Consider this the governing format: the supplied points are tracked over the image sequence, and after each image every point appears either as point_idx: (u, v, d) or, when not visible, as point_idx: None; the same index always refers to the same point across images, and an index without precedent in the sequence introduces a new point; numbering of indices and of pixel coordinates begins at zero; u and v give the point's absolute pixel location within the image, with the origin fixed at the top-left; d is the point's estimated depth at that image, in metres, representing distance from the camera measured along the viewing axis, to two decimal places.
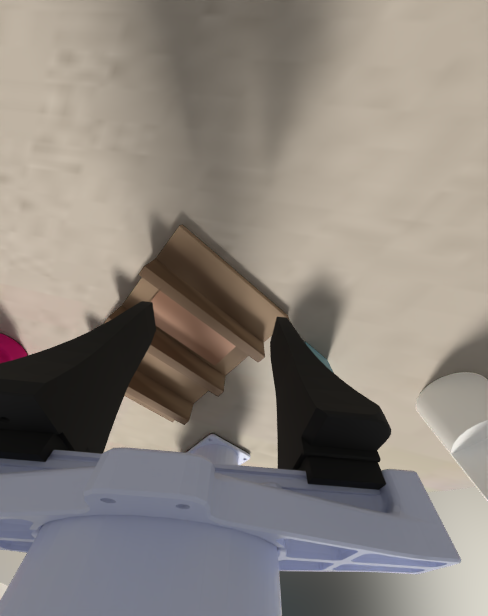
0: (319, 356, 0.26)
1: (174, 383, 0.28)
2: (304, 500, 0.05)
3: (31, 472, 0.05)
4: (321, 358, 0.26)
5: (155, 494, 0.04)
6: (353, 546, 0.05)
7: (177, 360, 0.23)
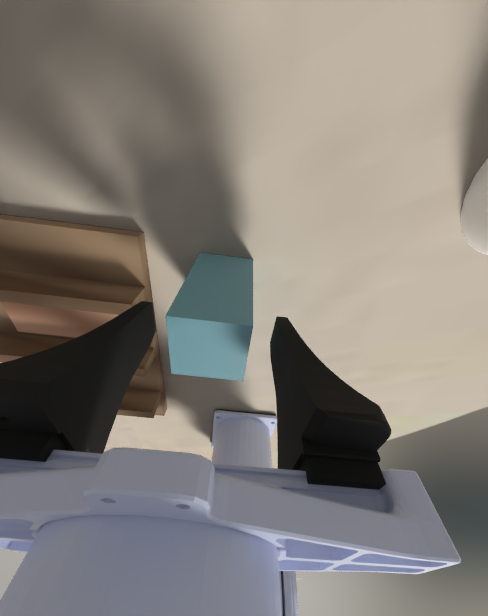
0: (227, 260, 0.16)
1: None
2: (304, 500, 0.05)
3: (31, 472, 0.05)
4: (231, 261, 0.16)
5: (155, 494, 0.04)
6: (353, 546, 0.05)
7: None
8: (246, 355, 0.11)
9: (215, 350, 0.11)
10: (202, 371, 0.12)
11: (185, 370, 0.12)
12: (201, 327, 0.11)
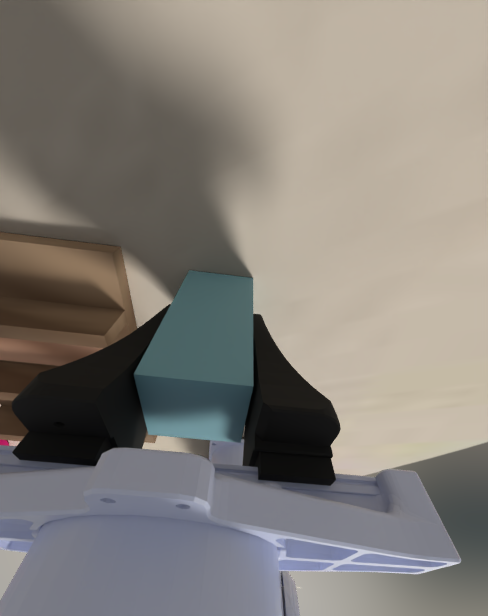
0: (221, 281, 0.13)
1: None
2: (304, 500, 0.05)
3: (31, 472, 0.05)
4: (226, 282, 0.13)
5: (155, 494, 0.04)
6: (353, 546, 0.05)
7: None
8: (244, 417, 0.09)
9: (203, 411, 0.09)
10: (188, 432, 0.10)
11: (166, 431, 0.10)
12: (183, 386, 0.08)
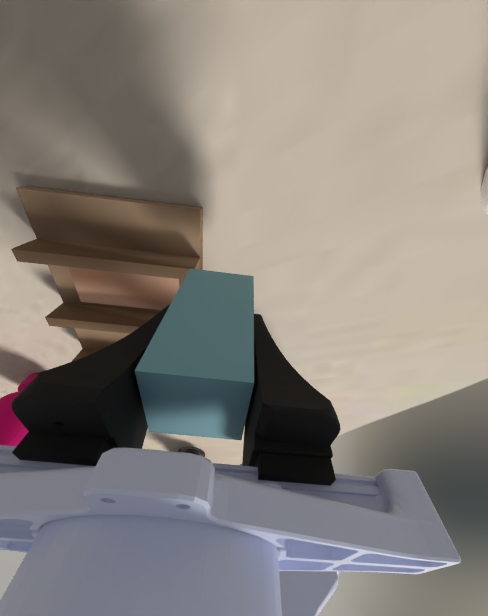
0: (222, 279, 0.13)
1: None
2: (304, 500, 0.05)
3: (31, 472, 0.05)
4: (227, 281, 0.13)
5: (155, 494, 0.04)
6: (353, 546, 0.05)
7: (130, 324, 0.21)
8: (245, 414, 0.09)
9: (204, 408, 0.09)
10: (188, 430, 0.10)
11: (167, 428, 0.10)
12: (184, 383, 0.08)
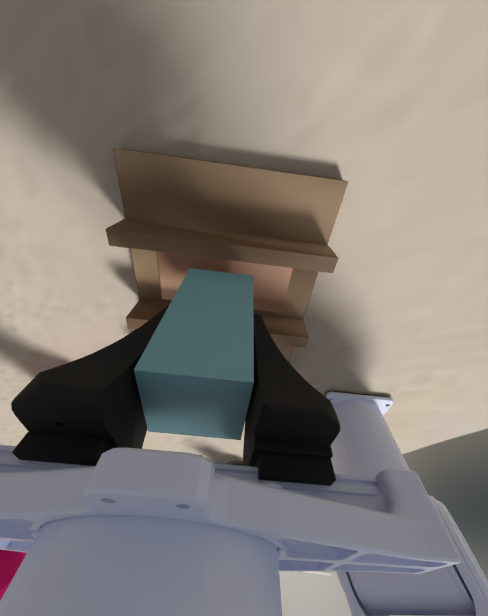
0: (222, 279, 0.13)
1: None
2: (304, 500, 0.05)
3: (31, 472, 0.05)
4: (227, 280, 0.13)
5: (155, 494, 0.04)
6: (353, 546, 0.05)
7: None
8: (244, 414, 0.09)
9: (203, 407, 0.09)
10: (188, 429, 0.10)
11: (166, 428, 0.10)
12: (183, 382, 0.08)
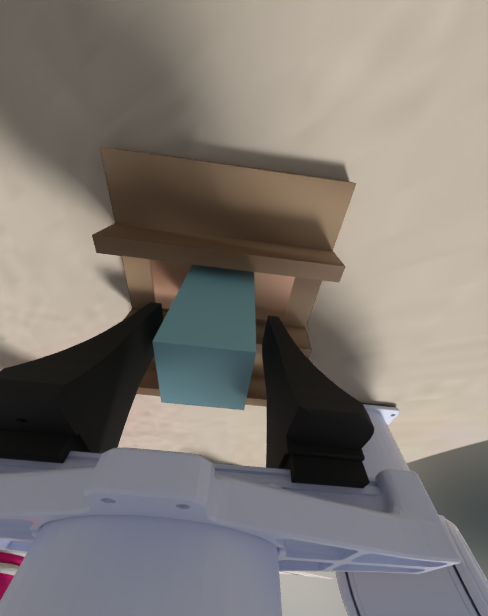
0: (225, 269, 0.15)
1: None
2: (304, 500, 0.05)
3: (31, 472, 0.05)
4: (230, 270, 0.14)
5: (155, 494, 0.04)
6: (353, 546, 0.05)
7: None
8: (248, 383, 0.10)
9: (211, 377, 0.10)
10: (197, 400, 0.11)
11: (177, 399, 0.11)
12: (195, 353, 0.09)
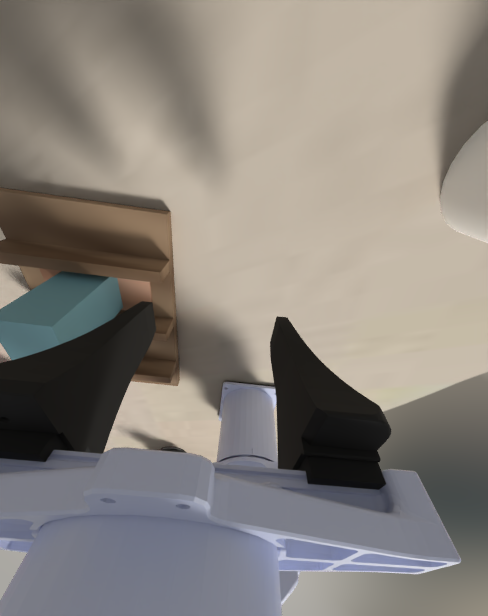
0: None
1: None
2: (304, 500, 0.05)
3: (31, 472, 0.05)
4: None
5: (155, 494, 0.04)
6: (353, 546, 0.05)
7: None
8: None
9: (35, 344, 0.15)
10: None
11: None
12: (15, 327, 0.14)
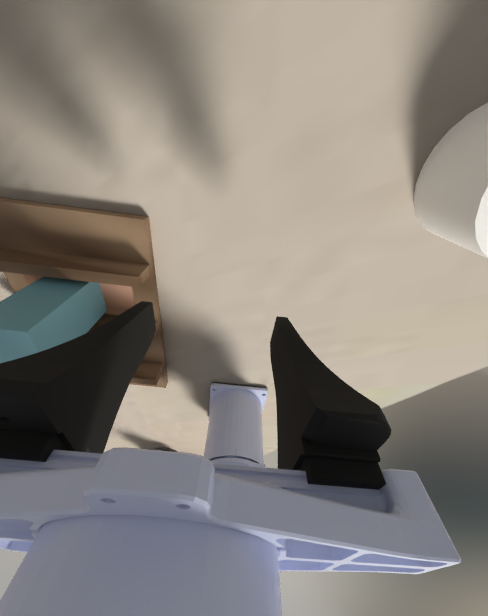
0: None
1: None
2: (304, 500, 0.05)
3: (31, 472, 0.05)
4: None
5: (155, 494, 0.04)
6: (353, 546, 0.05)
7: None
8: None
9: (12, 349, 0.15)
10: None
11: None
12: None
